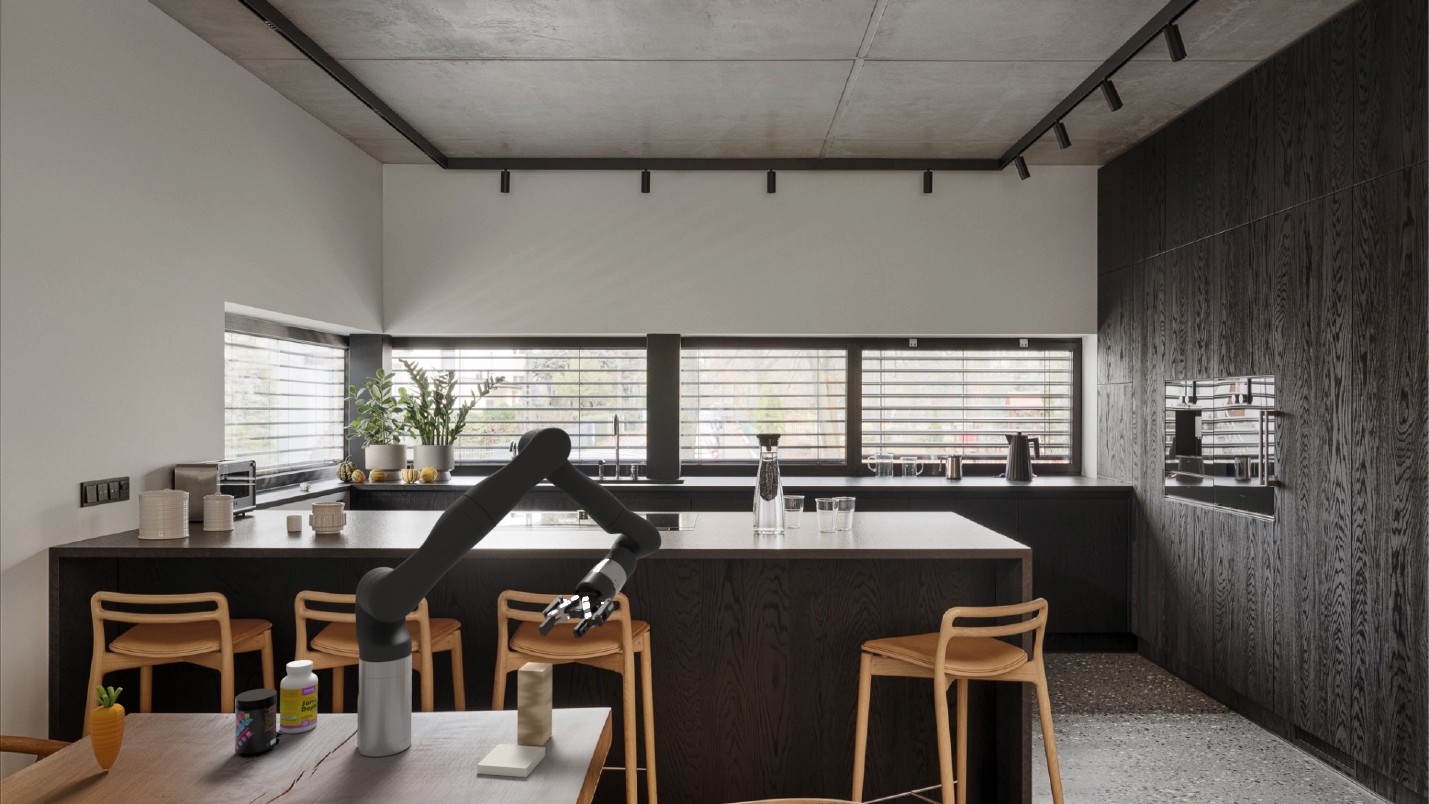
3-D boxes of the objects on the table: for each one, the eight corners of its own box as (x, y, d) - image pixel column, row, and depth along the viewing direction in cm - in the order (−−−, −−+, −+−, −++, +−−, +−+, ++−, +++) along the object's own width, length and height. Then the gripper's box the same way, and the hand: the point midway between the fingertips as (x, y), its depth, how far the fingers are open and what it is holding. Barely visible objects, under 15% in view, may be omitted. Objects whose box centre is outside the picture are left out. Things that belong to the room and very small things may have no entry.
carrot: (131, 767, 143) (132, 682, 143) (101, 779, 138) (103, 691, 138) (111, 763, 144) (112, 679, 144) (81, 775, 140) (83, 688, 140)
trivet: (477, 773, 141) (477, 764, 141) (498, 752, 149) (498, 744, 150) (526, 777, 139) (526, 768, 139) (545, 755, 148) (545, 747, 148)
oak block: (517, 744, 153) (517, 670, 153) (527, 734, 158) (527, 662, 158) (542, 746, 152) (543, 671, 153) (551, 735, 157) (552, 663, 157)
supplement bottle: (301, 736, 157) (302, 669, 157) (271, 733, 158) (272, 667, 158) (324, 723, 163) (325, 659, 163) (296, 720, 165) (296, 657, 165)
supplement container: (241, 745, 152) (242, 690, 152) (280, 742, 154) (281, 687, 154) (229, 760, 146) (229, 702, 146) (270, 756, 147) (270, 699, 147)
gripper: (569, 569, 173) (524, 616, 160) (624, 571, 166) (581, 620, 153) (580, 598, 176) (536, 647, 162) (634, 601, 169) (593, 652, 156)
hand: (558, 634), depth 158 cm, fingers open, 8 cm apart
